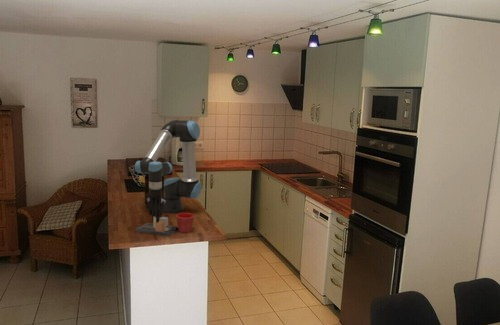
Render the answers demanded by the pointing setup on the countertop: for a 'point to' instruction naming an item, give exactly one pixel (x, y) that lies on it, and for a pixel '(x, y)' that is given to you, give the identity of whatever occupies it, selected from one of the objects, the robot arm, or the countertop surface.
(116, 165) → the countertop surface
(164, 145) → the robot arm
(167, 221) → the fader
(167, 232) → the console
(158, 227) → the fader
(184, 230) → the flower pot
